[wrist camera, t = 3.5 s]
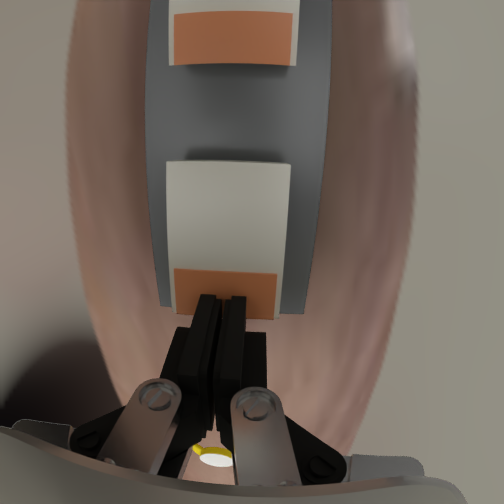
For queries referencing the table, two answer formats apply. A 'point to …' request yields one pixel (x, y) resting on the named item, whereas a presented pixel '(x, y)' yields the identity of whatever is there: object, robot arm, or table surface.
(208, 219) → the plate
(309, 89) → the rocker switch panel
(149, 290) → the table surface
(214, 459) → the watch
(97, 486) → the robot arm
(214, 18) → the rocker
